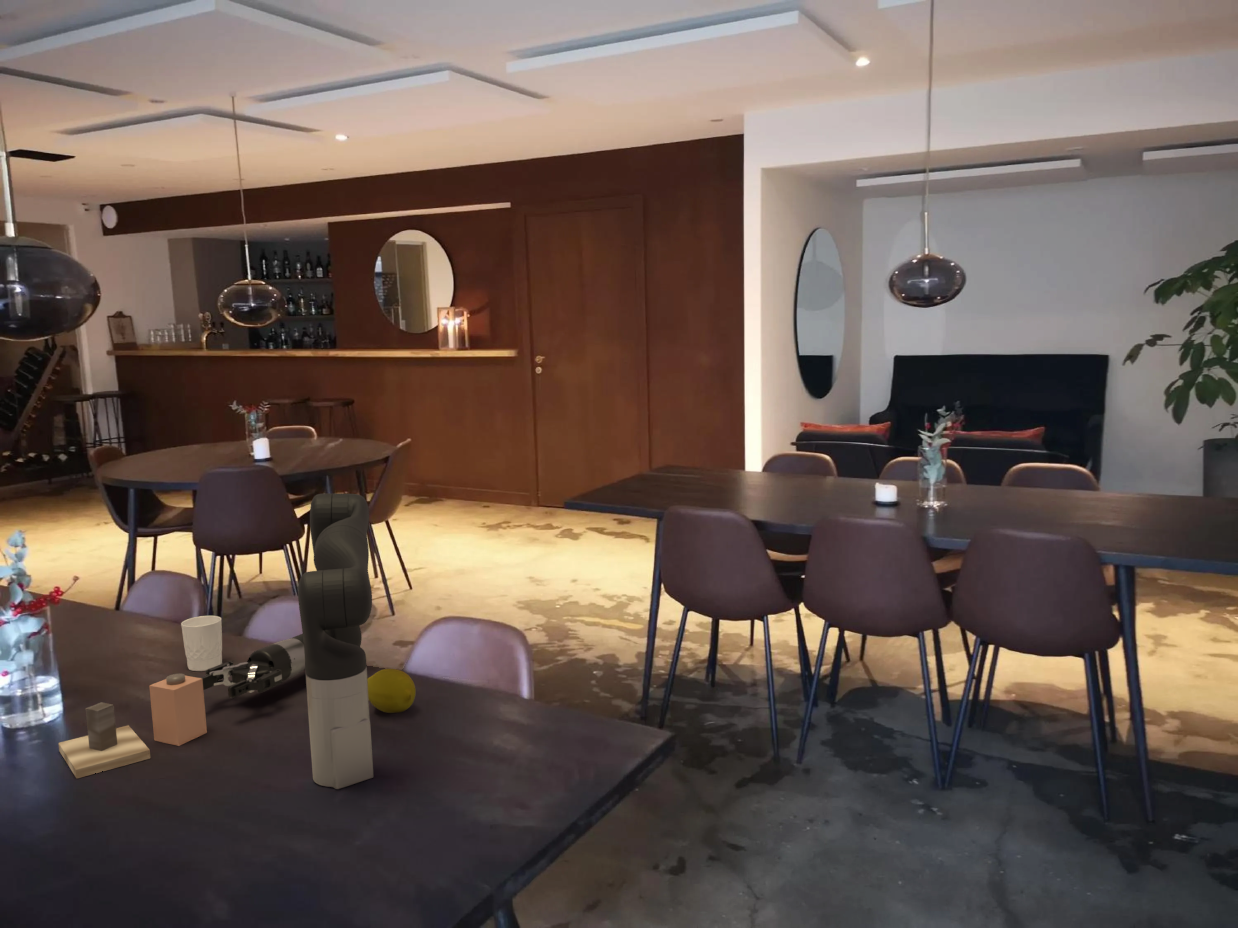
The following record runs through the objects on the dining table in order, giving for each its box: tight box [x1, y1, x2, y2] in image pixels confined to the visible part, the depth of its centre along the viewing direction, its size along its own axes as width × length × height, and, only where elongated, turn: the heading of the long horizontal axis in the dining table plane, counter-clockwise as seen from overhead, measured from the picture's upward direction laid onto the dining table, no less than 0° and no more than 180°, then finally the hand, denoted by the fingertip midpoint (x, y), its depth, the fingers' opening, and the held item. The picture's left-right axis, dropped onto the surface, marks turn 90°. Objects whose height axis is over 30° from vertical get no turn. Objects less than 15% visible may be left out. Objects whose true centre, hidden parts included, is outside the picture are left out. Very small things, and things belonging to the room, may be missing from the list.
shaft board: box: [58, 702, 151, 779], centre depth 164 cm, size 14×11×8 cm
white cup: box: [180, 615, 223, 672], centre depth 207 cm, size 8×8×10 cm
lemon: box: [367, 668, 417, 714], centre depth 180 cm, size 11×8×8 cm
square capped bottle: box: [148, 673, 208, 747], centre depth 170 cm, size 6×6×11 cm
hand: (212, 689), depth 177 cm, fingers open, 8 cm apart
